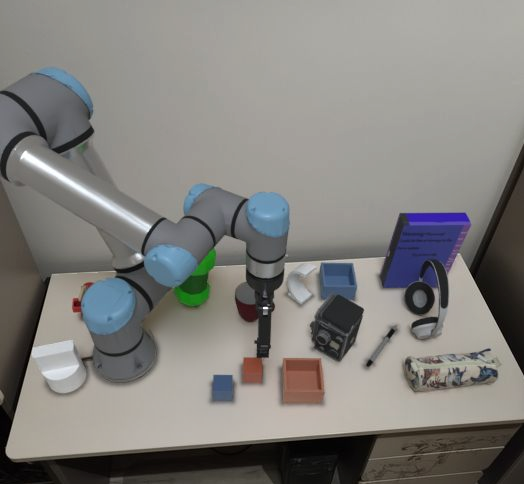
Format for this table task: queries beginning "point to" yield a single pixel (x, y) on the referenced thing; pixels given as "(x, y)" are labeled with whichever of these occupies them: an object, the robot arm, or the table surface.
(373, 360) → the pen
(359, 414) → the table surface
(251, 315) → the mug
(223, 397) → the blue block
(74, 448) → the table surface
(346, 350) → the camera
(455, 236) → the blue book
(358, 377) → the table surface
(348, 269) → the blue bin
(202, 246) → the robot arm
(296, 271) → the headphone stand
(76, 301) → the toy fire truck
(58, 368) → the base with upright slab
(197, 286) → the plastic bottle
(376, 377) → the table surface
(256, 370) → the terracotta block
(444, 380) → the pencil case
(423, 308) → the headphones
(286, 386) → the clay bin
